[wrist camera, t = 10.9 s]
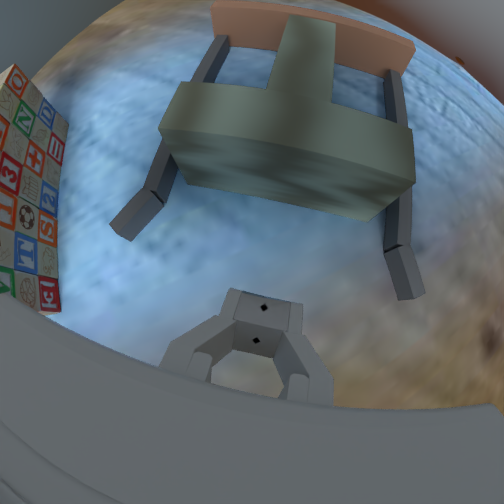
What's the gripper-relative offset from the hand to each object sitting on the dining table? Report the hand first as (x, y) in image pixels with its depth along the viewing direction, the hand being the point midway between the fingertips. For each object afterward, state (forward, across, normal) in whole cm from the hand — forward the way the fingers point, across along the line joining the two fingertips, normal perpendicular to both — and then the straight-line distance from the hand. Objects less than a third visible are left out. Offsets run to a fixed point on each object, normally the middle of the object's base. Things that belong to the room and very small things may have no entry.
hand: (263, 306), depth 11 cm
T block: (+18, +1, -5) cm, 18 cm away
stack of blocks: (+8, +24, +4) cm, 26 cm away
